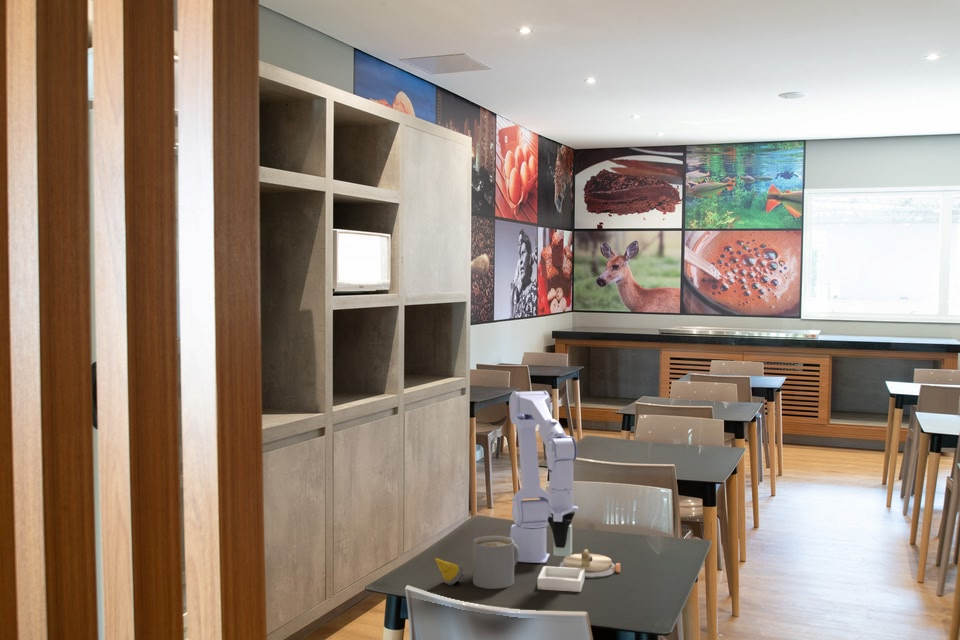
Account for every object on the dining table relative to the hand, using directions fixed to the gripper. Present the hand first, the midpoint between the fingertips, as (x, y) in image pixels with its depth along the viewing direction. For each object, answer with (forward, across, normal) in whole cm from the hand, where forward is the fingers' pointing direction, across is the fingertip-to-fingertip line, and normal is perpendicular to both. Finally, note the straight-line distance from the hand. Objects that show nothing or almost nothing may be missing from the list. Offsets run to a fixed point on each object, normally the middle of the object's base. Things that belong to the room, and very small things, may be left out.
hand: (561, 544), depth 209 cm
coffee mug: (+10, -1, +15) cm, 18 cm away
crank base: (+9, +13, -5) cm, 17 cm away
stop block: (+2, 0, 0) cm, 2 cm away
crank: (+8, +12, -5) cm, 16 cm away
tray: (+9, 0, 0) cm, 9 cm away
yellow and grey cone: (+10, -6, +26) cm, 28 cm away
